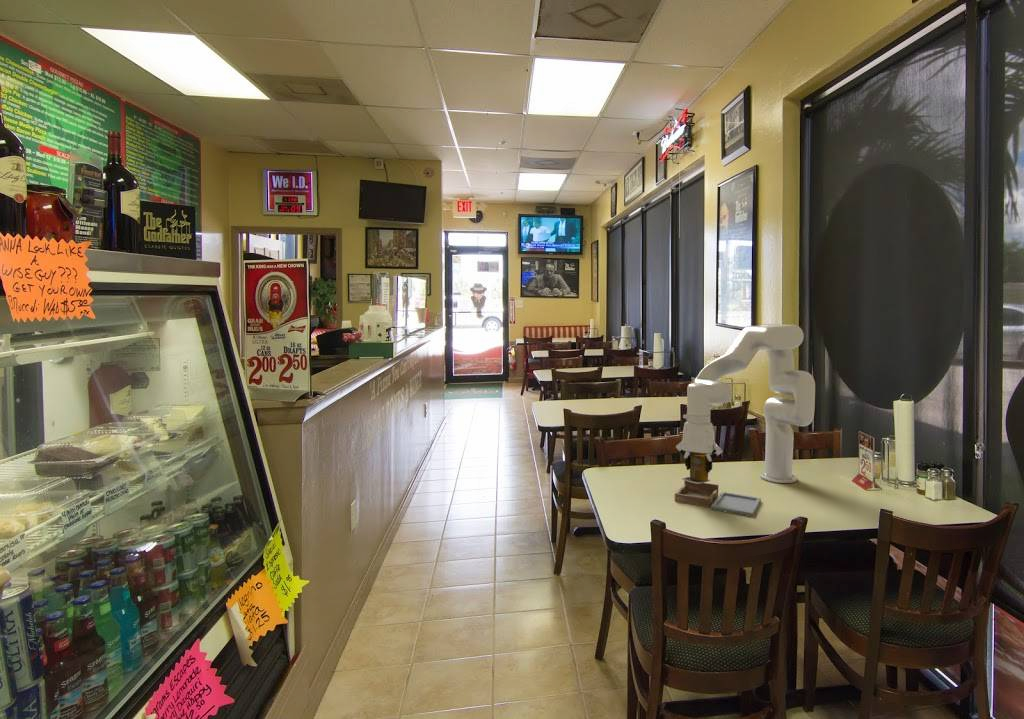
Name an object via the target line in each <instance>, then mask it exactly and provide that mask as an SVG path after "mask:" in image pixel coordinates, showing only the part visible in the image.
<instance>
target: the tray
mask: <svg viewBox="0 0 1024 719" xmlns="http://www.w3.org/2000/svg"><path fill="white" fill-rule="evenodd" d="M760 501H762V498H761V497H757V496H751V495H750V496H749V495H744V494H739V493H734V492H733V493H732V492H725V491H721V492H720V494H718V497H717V498H716V500H715V501H714V502H713V503H712V505H711V506H710V508H711V510H712V511H718V510H719V511H718V512H723V511H726V512H725V513H729V512H731V513H730V514H734V513H736V514H735V515H740V514H742V515H741V516H745V515H748V516H747V517H750V516H753V517H754V515H755V513H756V511H757V510H758V508H757V507H759V506H758V505H760V504H761V502H760ZM759 503H760V504H759Z"/></svg>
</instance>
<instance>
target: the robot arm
mask: <svg viewBox="0 0 1024 719" xmlns="http://www.w3.org/2000/svg"><path fill="white" fill-rule="evenodd" d="M804 336H805V335H804V331H803V329H802V328H801V327H800V326H799V325H796V324H778V323H774V324H773V323H768V324H767V323H766V324H761V325H748V326H746V327H744V328H743V329H742V330H741V331H740V333H739V335H738V336H737V337H736V339H735V340H734V341H733V343H732V344H731V346H730V347H729V348H728V349H727V351H726V352H725V353H724V355H722V356H720V357H718V358H716V359H714V360H713V361H711V362H709V363H708V364H707V365H706V366H704V367H703V368H702V369H701V370H700V371H699V373H698V375H697V376H696V377H695V379H693V382H692V383H690V384H688V385H687V387H686V388H687V389H686V393H687V394H686V398H687V399H686V402H687V403H686V405H687V406H686V407H687V408H686V414H683V415H682V419H685V420H686V421H685V422H684V425H683V430H682V431H683V432H682V440H681V441H679V443H678V444H676V445H675V448H676V449H677V450H678V451H679V452H680V453H681V454H680V455H682V456H683V458H684V465H685V467H686V470H687V471H690V453H691V452H694V453H703V454H706V456H707V458H708V460H707V462H706V472H707V473H708V474H709V473H710V472H711V471H712V470H713V460H715V459H716V458H717V457H718V456H720V454H722V453H723V449H722V448H721V447H720V446H719V445H718V444H717V443H716V441H715V432H714V424H713V423H712V422H711V404H726V403H727V402H729V401H730V400H731V399H732V397H733V394H734V390H733V387H732V386H731V385H730V384H729V383H727V382H726V381H725V382H724V381H721V380H718V379H720V378H722V377H724V376H727V375H730V374H734V373H738V372H741V371H743V370H745V369H747V368H748V366H749V365H750V363H751V362H752V360H753V359H754V357H755V356H756V354H757V353H758V352H759V351H761V350H762V351H766V353H767V355H768V387H769V389H770V391H771V392H773V393H776V394H779V395H787V396H793V397H794V398H791V397H790V398H789V397H784V396H783V397H782V396H772V397H769V398H768V399H767V400H766V401H764V406H763V414H764V421H765V453H764V454H765V459H764V471H761V472H760V473H759V474H760V478H761V479H763V480H765V481H768V482H770V483H771V482H772V483H778V484H790V483H791V484H792V483H795V482H797V476H796V475H795V474H793V464H794V463H793V460H794V459H793V458H794V437H795V436H794V431H793V428H792V425H793V426H796V427H807V426H809V425H810V424H811V423H812V422H813V421H814V418H815V408H816V407H815V406H816V381H815V379H814V377H813V375H812V374H811V373H810V372H808V371H805V370H798V369H797V370H796V369H795V356H794V351H793V349H796V348H798V347H799V346H801V344H802V343H803V341H804ZM713 451H716V452H714V453H713Z"/></svg>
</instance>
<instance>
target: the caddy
mask: <svg viewBox="0 0 1024 719" xmlns="http://www.w3.org/2000/svg"><path fill="white" fill-rule="evenodd" d="M683 481H684V482H683V483H684V484H682V486H681V487H680V488H679V489H678V490H677V491H676V492H674V501H675V502H678V501H679V503H685V504H689V503H690V504H691V505H695V506H701V507H706V508H711V506H712V504H713V503H714V502H715V499H717V498H718V496H719V486H720V485H719V484H716V483H709V482H704V483H700V484H696V483H692V482H688V481H685V480H683ZM688 491H689V493H694V492H695V494H699V493H700V495H705V494H707V495H708V496H709V497H708V498H705V497H701V496H694V495H688V494H686V493H687V492H688Z"/></svg>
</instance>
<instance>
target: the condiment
mask: <svg viewBox="0 0 1024 719" xmlns="http://www.w3.org/2000/svg"><path fill="white" fill-rule="evenodd" d="M707 460H708V458H707V456H706V454H703V453H694V452H691V453H690V469H689V476H686V477H682V478H681V480H683V481H684V480H685V481H688V482H692V483H696V484H700V483H709V482H712V481H714V479H712V478H709V473H707V472H706V462H707Z"/></svg>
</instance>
